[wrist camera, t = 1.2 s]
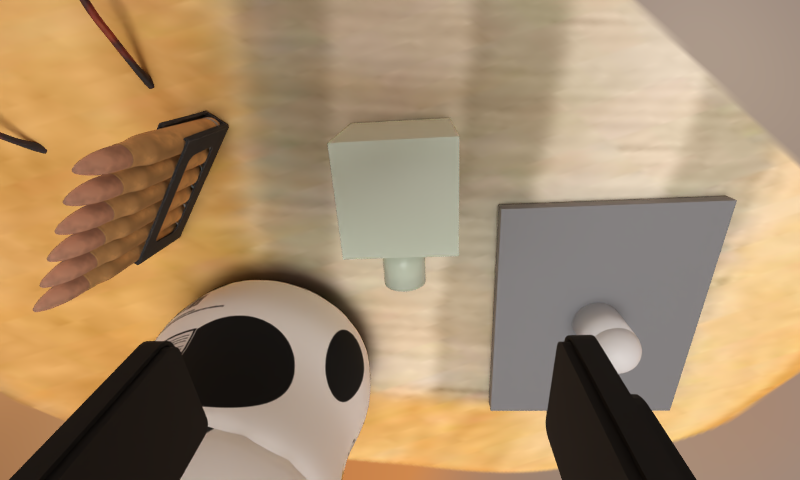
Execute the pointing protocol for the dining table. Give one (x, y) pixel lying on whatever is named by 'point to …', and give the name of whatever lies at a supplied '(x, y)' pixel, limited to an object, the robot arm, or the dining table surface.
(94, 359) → the dining table surface
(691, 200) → the board
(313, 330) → the milk container
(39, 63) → the dining table surface
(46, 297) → the ammunition clip
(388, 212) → the block with round peg
